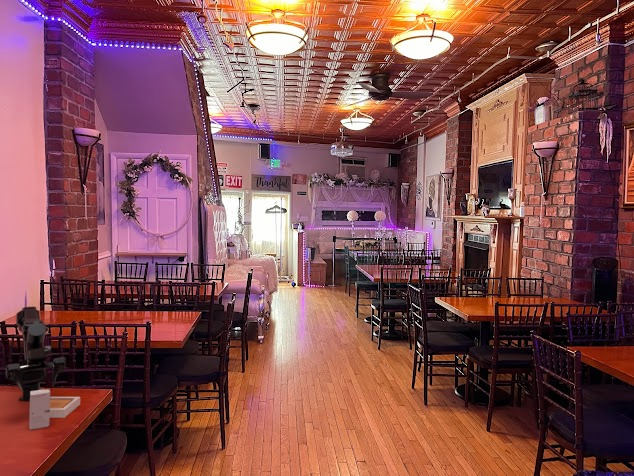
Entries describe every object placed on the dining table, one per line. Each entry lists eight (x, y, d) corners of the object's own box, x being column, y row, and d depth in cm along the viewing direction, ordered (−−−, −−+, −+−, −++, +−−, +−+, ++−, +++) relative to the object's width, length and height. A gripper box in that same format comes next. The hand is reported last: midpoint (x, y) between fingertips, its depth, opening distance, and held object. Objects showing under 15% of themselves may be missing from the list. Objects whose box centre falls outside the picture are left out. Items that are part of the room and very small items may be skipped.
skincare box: (29, 430, 160) (29, 395, 159) (29, 425, 163) (29, 391, 163) (50, 426, 163) (50, 392, 163) (49, 421, 167) (49, 388, 166)
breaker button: (50, 402, 180) (50, 400, 180) (70, 402, 180) (70, 400, 180) (39, 410, 172) (39, 407, 172) (61, 410, 172) (61, 407, 172)
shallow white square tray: (47, 404, 182) (47, 396, 182) (80, 404, 183) (80, 396, 182) (29, 417, 170) (29, 409, 169) (64, 417, 170) (64, 409, 170)
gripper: (6, 342, 165) (7, 382, 157) (65, 335, 176) (70, 372, 168) (5, 358, 172) (6, 398, 163) (62, 351, 183) (66, 387, 174)
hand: (38, 388), depth 167 cm, fingers open, 9 cm apart
